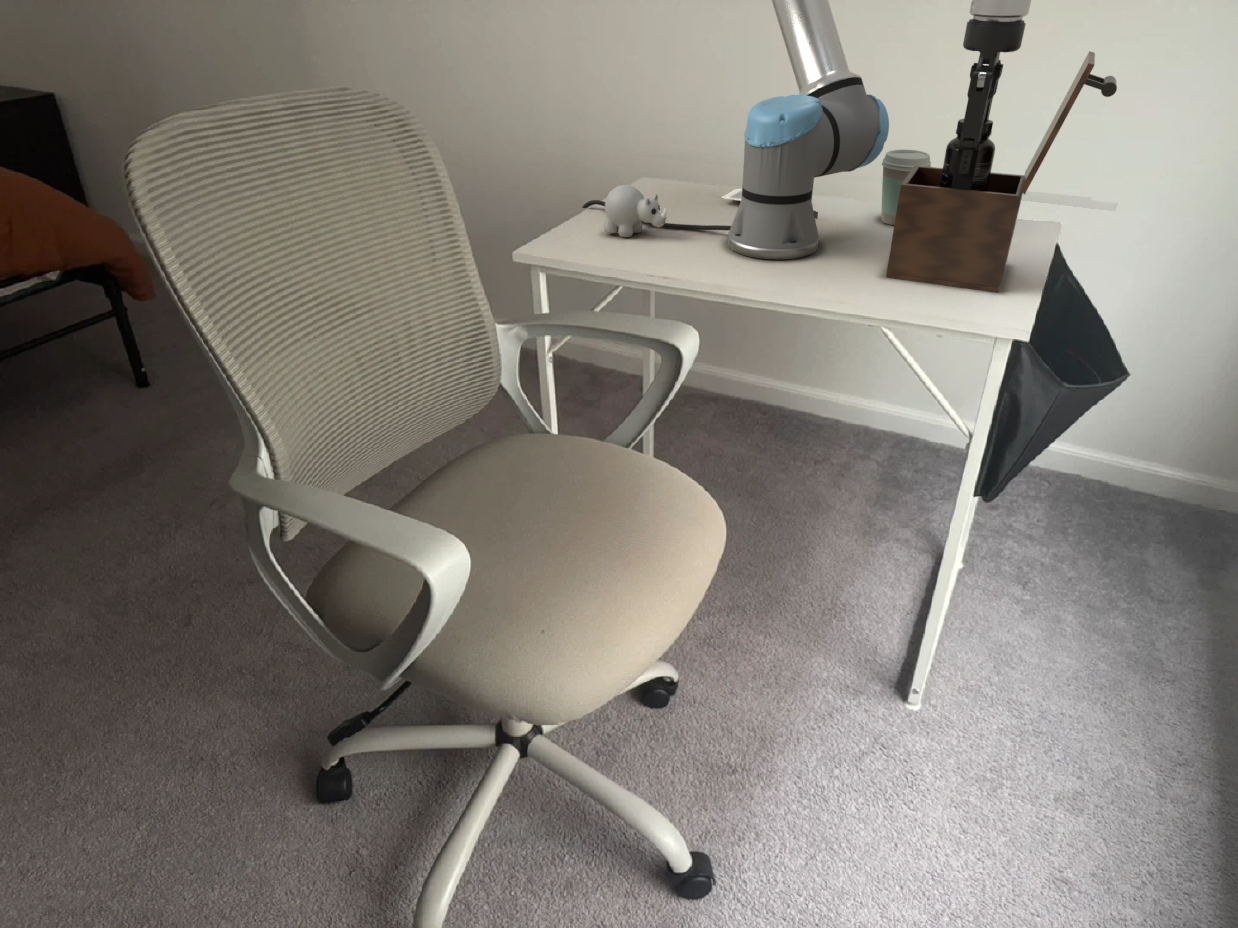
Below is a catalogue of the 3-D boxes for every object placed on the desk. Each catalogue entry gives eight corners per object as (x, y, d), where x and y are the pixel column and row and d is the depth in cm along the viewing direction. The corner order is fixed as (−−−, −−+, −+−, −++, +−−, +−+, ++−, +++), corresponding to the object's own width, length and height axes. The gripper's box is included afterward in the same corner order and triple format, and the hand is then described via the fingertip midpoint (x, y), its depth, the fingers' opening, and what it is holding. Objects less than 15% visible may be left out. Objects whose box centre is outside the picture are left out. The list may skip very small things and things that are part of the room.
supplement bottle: (980, 198, 133) (997, 116, 126) (987, 211, 127) (1005, 126, 121) (934, 196, 134) (949, 115, 127) (938, 209, 128) (954, 124, 122)
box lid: (1088, 62, 110) (1127, 75, 109) (1089, 50, 120) (1125, 62, 118) (1019, 191, 121) (1054, 204, 120) (1025, 171, 130) (1057, 183, 129)
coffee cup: (926, 218, 160) (938, 151, 154) (914, 230, 154) (926, 161, 148) (881, 211, 164) (890, 146, 158) (867, 223, 158) (877, 156, 152)
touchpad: (736, 193, 176) (737, 183, 174) (806, 203, 169) (807, 192, 168) (720, 203, 170) (720, 192, 169) (791, 213, 163) (792, 202, 162)
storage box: (885, 277, 134) (900, 184, 127) (900, 253, 144) (914, 165, 136) (998, 292, 128) (1021, 196, 121) (1005, 266, 138) (1027, 175, 130)
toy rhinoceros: (654, 246, 148) (655, 197, 144) (597, 235, 154) (596, 187, 149) (675, 235, 153) (676, 187, 149) (619, 225, 159) (618, 178, 155)
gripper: (976, 10, 126) (945, 171, 138) (959, 24, 111) (926, 203, 123) (1031, 12, 123) (995, 175, 136) (1021, 26, 108) (982, 208, 120)
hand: (962, 188), depth 129 cm, fingers open, 7 cm apart
